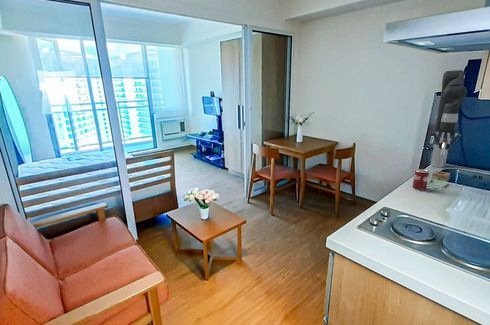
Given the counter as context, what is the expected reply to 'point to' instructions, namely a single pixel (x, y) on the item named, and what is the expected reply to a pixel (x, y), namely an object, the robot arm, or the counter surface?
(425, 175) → the soda can
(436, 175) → the tan and green block
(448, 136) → the robot arm
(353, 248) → the counter surface
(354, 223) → the counter surface
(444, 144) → the lock pin
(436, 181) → the tray
